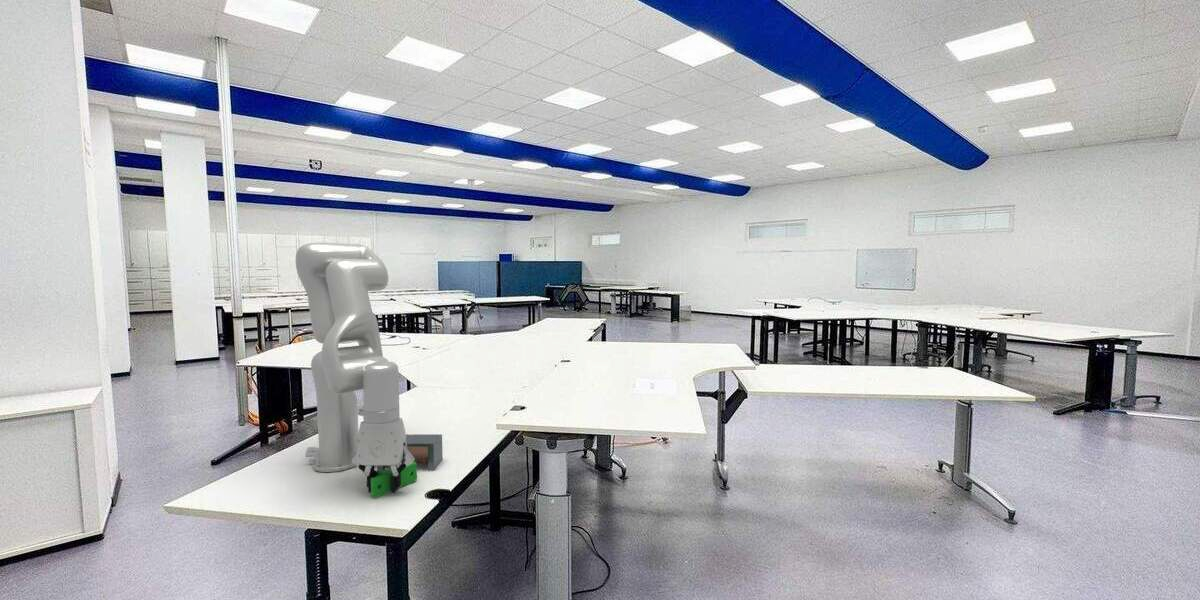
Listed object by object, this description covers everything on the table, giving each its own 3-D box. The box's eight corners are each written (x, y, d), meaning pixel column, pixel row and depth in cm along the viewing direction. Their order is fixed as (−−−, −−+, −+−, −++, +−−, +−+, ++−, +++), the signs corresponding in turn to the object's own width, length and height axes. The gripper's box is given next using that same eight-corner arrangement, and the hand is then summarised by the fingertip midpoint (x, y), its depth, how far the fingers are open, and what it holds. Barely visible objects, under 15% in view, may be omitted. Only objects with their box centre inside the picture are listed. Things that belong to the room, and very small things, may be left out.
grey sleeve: (377, 470, 121) (376, 443, 120) (388, 460, 128) (387, 434, 127) (434, 470, 121) (433, 443, 121) (442, 460, 128) (442, 434, 127)
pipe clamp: (408, 476, 117) (407, 459, 117) (416, 480, 115) (416, 462, 115) (364, 493, 108) (364, 474, 108) (373, 498, 106) (373, 479, 106)
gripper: (336, 420, 104) (339, 498, 105) (411, 420, 104) (413, 498, 105) (354, 409, 112) (356, 482, 113) (424, 410, 112) (425, 482, 113)
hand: (384, 489), depth 109 cm, fingers closed on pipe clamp, 4 cm apart
